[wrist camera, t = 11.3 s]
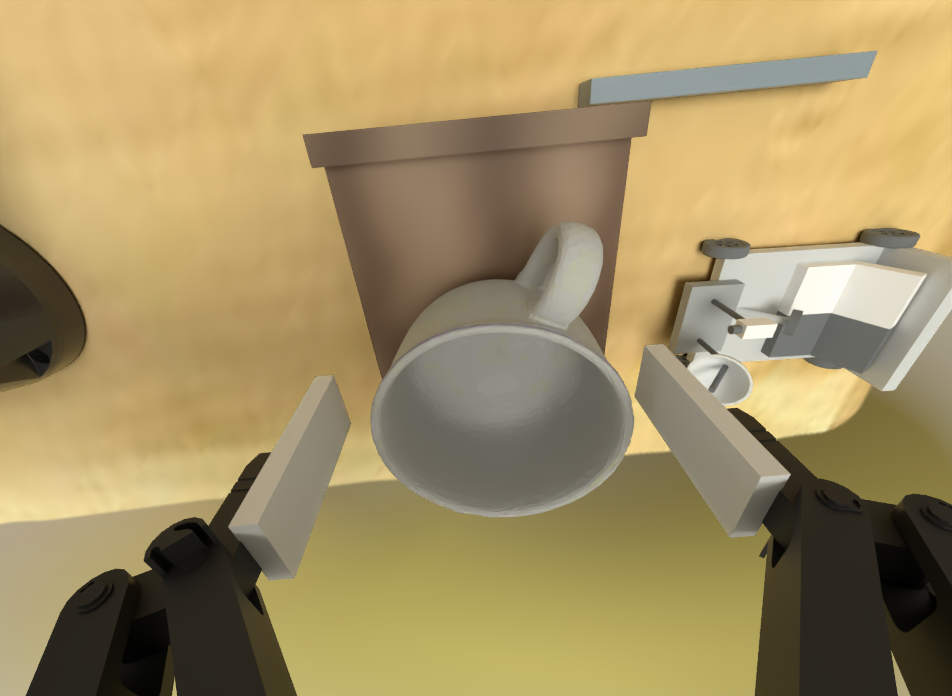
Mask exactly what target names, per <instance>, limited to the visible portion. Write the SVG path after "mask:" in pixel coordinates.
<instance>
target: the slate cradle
mask: <svg viewBox="0 0 952 696" xmlns="http://www.w3.org/2000/svg"><path fill="white" fill-rule="evenodd" d="M876 54H877V51H870V52H859V53H849V54H839V55H829V56H819V57H808V58H798V59H788V60H778V61H767V62H757V63H747V64H737V65H727V66H716V67H706V68H696V69H686V70H676V71H665V72H655V73H645V74H635V75H625V76H614V77H604V78H594V79H590V80H588V81H586V82H583V83H581V84H579V101H578V107H586V106H596V105H606V104H617V103H627V102H637V101H648V100H658V99H668V98H679V97H689V96H699V95H710V94H720V93H730V92H741V91H751V90H761V89H772V88H782V87H792V86H803V85H813V84H823V83H832V82H839V81H846V80H853V79H860V78H867V77H868V74H869V71H870V69H871V66H872V64H873V61H874V59H875V56H876Z"/></svg>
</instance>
